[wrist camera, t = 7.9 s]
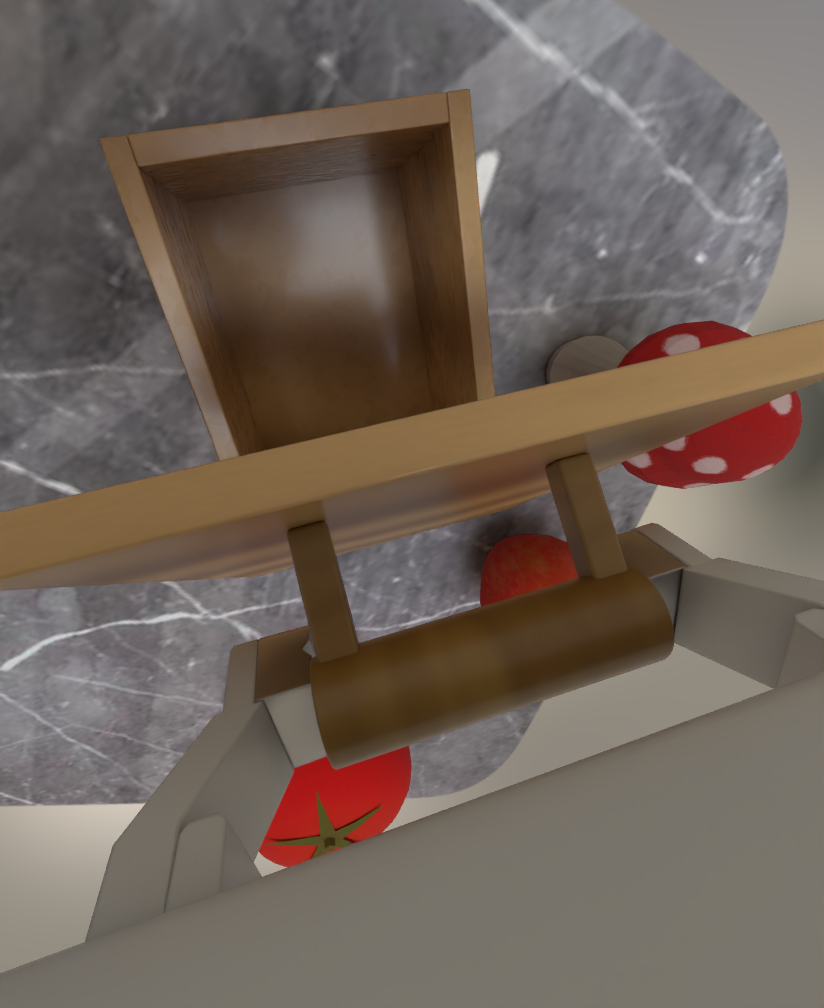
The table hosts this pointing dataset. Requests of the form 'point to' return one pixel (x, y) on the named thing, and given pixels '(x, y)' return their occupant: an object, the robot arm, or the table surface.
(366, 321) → the box
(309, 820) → the tomato
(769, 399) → the lid
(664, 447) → the decorative mushroom
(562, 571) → the apple
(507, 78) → the table surface
